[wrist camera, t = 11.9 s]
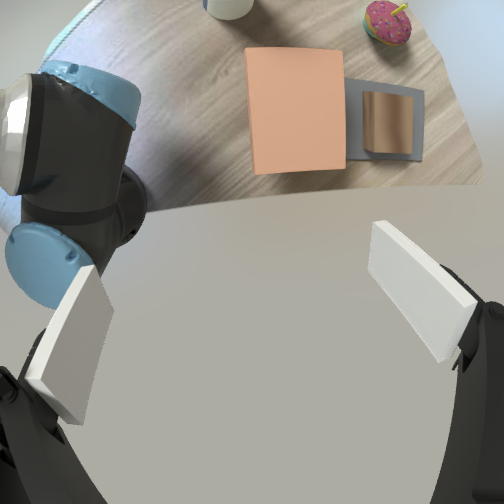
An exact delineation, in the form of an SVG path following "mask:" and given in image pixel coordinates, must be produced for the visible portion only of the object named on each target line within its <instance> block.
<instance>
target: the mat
mask: <svg viewBox="0 0 504 504" xmlns="http://www.w3.org/2000/svg"><path fill="white" fill-rule="evenodd" d="M344 88H345V118H346V159H385V160H417V161H422V154H423V137H424V91H423V90H418V89H413V88H408V87H403V86H398V85H392V84H386V83H379V82H372V81H364V80H355V79H345V78H344ZM362 91H375V92H383V93H390V94H397V95H403V96H409V97H413V143H412V154H405V153H378V152H371V151H369V150H366V149H363V148H362V137H363V107H362Z"/></svg>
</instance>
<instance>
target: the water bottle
mask: <svg viewBox="0 0 504 504" xmlns="http://www.w3.org/2000/svg"><path fill="white" fill-rule="evenodd" d="M253 3H254V0H203V5H204V8H205V10H206V11H207V12H208V13H209V14H210V15H211V16H213V17H215V18H218V19H221V20H234V19H238V18H241V17H243V16H244V15H246V14H247V13H248V12H249V11H250V10H251V8H252V6H253Z"/></svg>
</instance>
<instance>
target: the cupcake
mask: <svg viewBox="0 0 504 504" xmlns="http://www.w3.org/2000/svg"><path fill="white" fill-rule="evenodd" d="M407 4H408V3H406V4H403V5H402V6H400V7H398V6H397V5H396V4H394V3H392V2H389V1H385V0H380V1H374V2H372V3H371V4H370V5H369V6H368V7H367V9H366V14H365V19H364V21H363V25H364V28H365V30H366V32H367V33H368V34H369V35H370V36H372V37H374V38H376V39H377V40H379V41H381V42H383V43H384V44H386V45H389V46H399V45H402V44H404V43H405V42H406V41H407V40H409V37H410V35H411V29H412V28H411V24H410V21H409V19H408V17H407V16H406V14H405V12H404V11H403V10H404V9H405V8H407V7H408V6H407Z"/></svg>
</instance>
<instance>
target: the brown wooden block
mask: <svg viewBox="0 0 504 504" xmlns="http://www.w3.org/2000/svg"><path fill="white" fill-rule="evenodd" d="M362 107H363V137H362V148H363V149H366V150H369V151H371V152H378V153H405V154H412V143H413V97H409V96H403V95H397V94H390V93H383V92H375V91H362Z"/></svg>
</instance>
